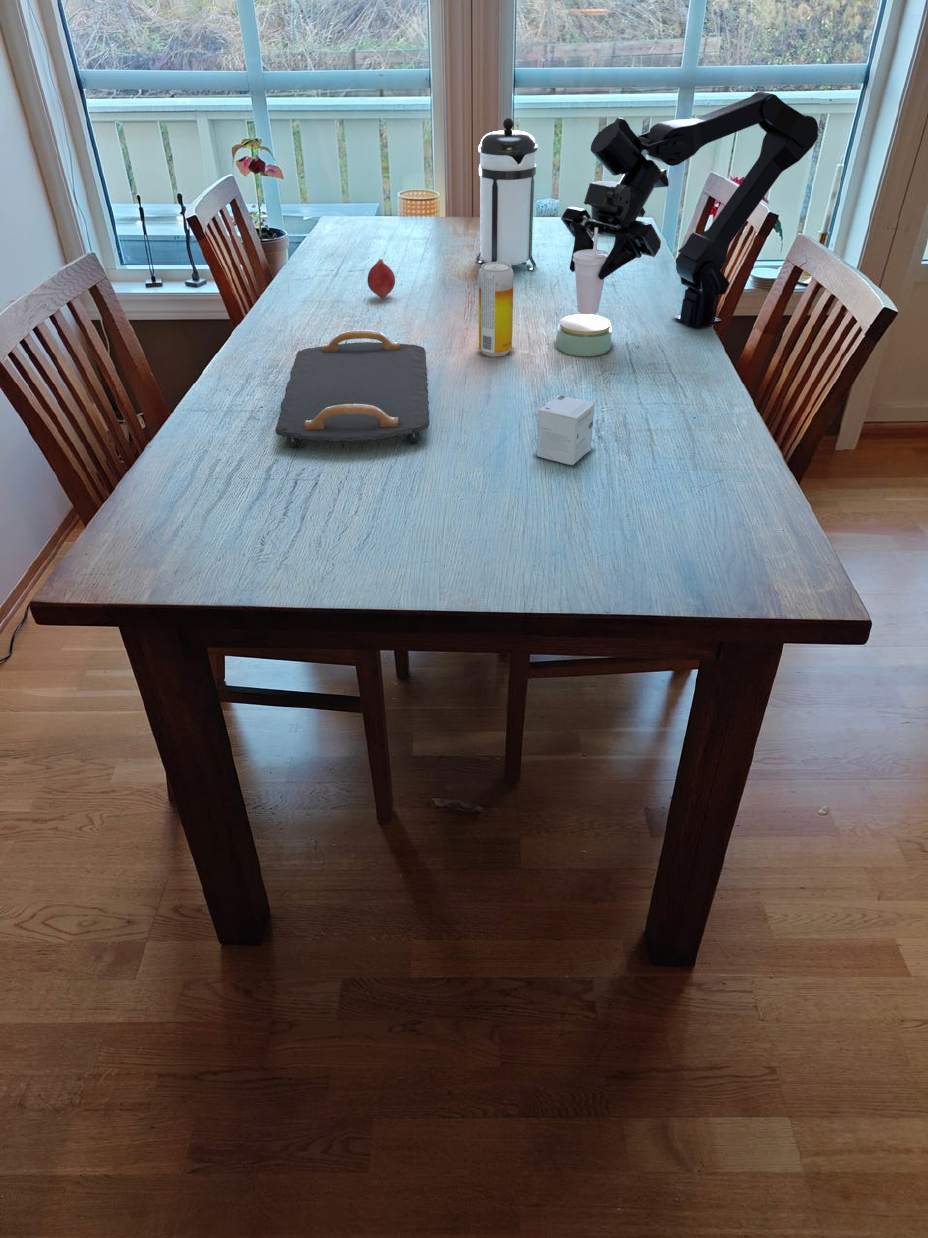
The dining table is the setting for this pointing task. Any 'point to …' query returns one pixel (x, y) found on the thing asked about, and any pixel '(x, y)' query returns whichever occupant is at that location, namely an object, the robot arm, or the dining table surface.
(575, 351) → the jar
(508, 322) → the beer can
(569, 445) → the product carton
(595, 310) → the smoothie
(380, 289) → the onion
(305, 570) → the dining table surface
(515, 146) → the coffee press
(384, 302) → the dining table surface
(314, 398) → the serving tray
